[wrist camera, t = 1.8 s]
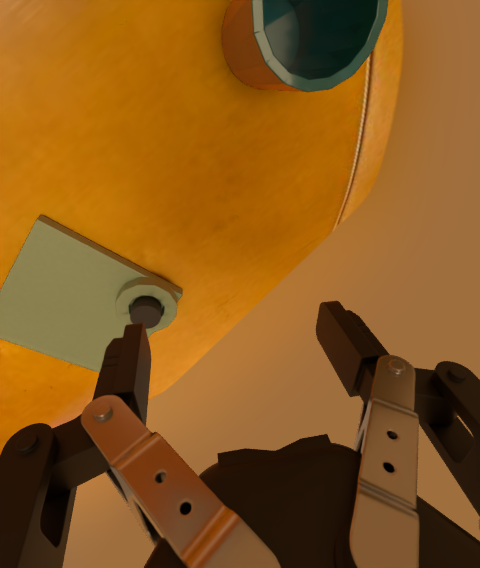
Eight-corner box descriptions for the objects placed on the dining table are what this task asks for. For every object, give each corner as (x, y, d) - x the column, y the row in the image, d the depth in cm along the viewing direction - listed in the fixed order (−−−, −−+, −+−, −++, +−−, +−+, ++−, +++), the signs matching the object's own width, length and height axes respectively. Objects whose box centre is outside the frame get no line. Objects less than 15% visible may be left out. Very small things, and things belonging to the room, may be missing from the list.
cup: (319, 32, 22) (415, -3, 13) (266, 107, 25) (318, 120, 15) (259, -45, 20) (327, -155, 11) (204, 46, 22) (222, 18, 13)
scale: (187, 288, 32) (187, 302, 30) (120, 372, 37) (116, 389, 35) (43, 211, 26) (31, 221, 24) (-16, 324, 31) (-30, 341, 29)
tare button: (167, 304, 30) (166, 313, 29) (152, 322, 31) (151, 333, 30) (141, 291, 29) (139, 300, 28) (126, 311, 30) (124, 321, 29)
